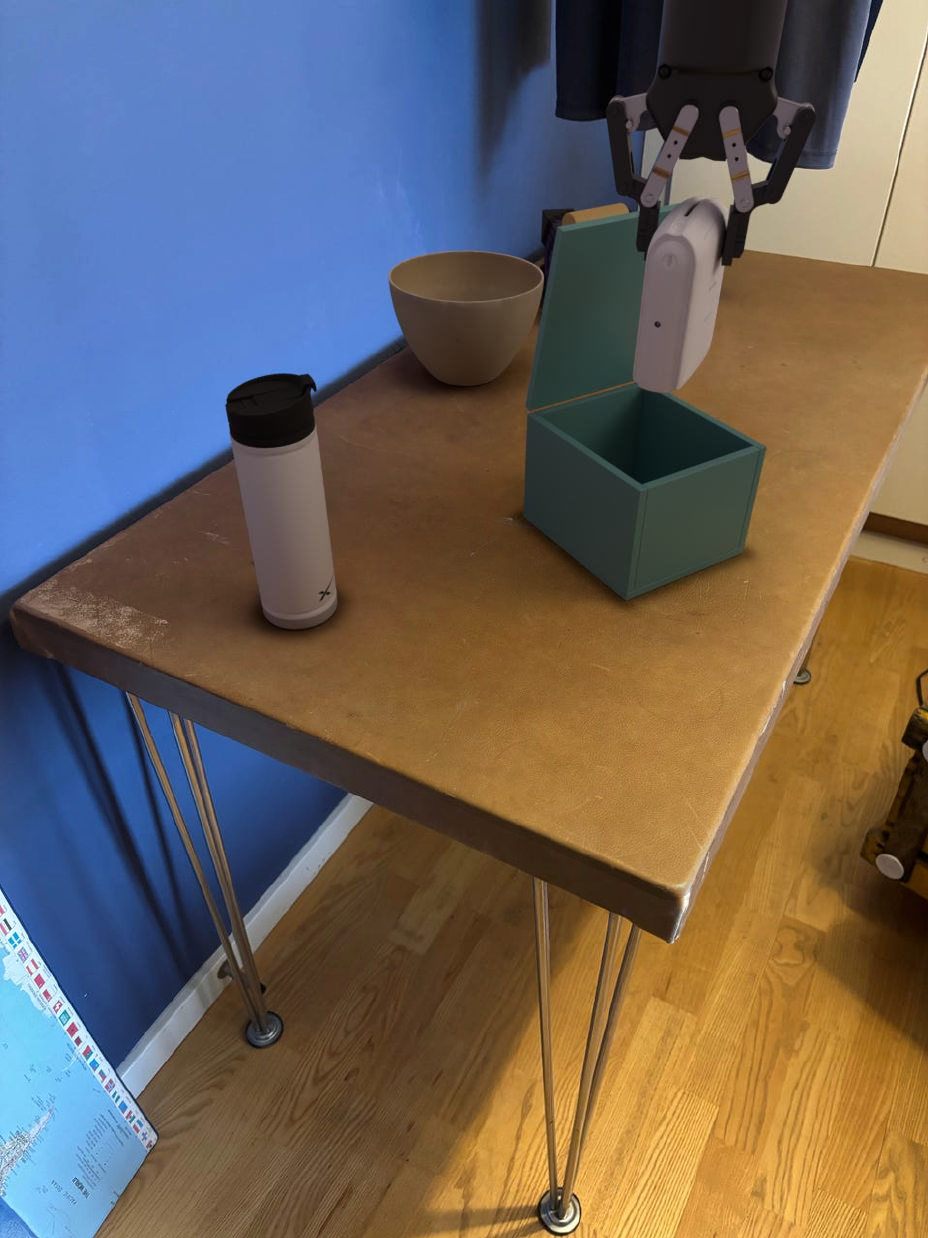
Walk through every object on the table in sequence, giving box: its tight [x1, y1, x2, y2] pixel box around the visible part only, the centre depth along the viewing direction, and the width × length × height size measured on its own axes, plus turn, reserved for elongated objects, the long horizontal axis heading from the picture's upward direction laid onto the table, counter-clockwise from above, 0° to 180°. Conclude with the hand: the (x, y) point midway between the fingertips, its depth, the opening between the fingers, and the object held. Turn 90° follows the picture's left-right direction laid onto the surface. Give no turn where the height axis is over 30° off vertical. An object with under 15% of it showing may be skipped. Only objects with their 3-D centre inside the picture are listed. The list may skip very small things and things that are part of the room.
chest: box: [522, 382, 768, 601], centre depth 82 cm, size 16×14×11 cm
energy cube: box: [539, 206, 633, 305], centre depth 126 cm, size 12×12×12 cm
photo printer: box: [632, 195, 729, 393], centre depth 68 cm, size 10×4×12 cm, turn 153°
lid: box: [524, 202, 681, 412], centre depth 78 cm, size 16×14×5 cm
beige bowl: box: [388, 250, 544, 387], centre depth 110 cm, size 18×18×12 cm
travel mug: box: [224, 372, 339, 630], centre depth 71 cm, size 6×7×20 cm
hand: (687, 259), depth 67 cm, fingers closed on photo printer, 5 cm apart
